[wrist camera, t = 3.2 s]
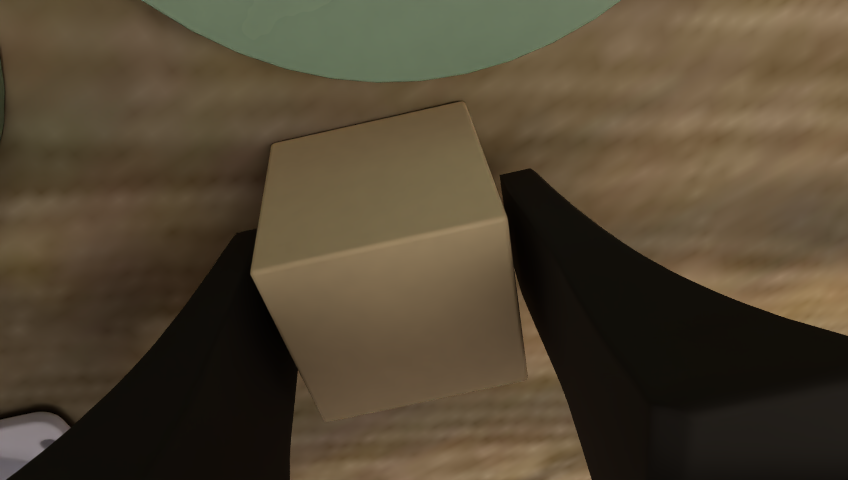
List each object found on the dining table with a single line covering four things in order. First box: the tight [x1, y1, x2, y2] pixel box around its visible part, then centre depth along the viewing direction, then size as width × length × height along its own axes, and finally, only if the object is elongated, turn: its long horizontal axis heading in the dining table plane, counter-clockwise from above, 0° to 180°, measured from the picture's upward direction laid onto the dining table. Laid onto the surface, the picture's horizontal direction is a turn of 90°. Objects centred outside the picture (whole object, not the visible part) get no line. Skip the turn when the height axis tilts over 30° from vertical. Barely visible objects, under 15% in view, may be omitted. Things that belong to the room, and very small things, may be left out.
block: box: [250, 101, 528, 422], centre depth 12 cm, size 4×4×4 cm
